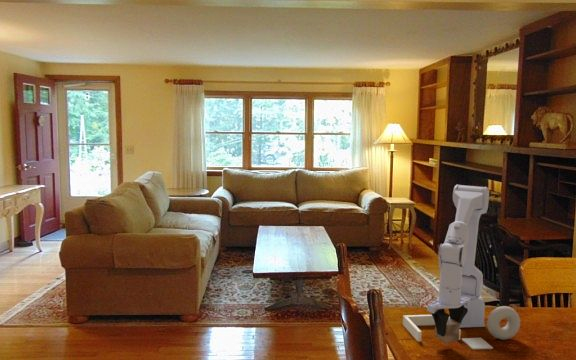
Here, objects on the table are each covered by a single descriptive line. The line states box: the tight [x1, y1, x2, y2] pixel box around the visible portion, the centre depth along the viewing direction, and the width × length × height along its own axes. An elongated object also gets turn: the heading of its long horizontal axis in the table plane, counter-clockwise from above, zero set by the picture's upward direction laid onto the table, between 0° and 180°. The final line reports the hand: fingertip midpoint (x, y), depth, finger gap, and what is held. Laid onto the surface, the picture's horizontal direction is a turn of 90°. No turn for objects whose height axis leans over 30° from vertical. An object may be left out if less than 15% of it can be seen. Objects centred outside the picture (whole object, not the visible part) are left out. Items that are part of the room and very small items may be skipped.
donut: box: [486, 305, 521, 341], centre depth 132 cm, size 10×3×10 cm, turn 98°
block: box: [434, 318, 461, 344], centre depth 126 cm, size 4×4×5 cm
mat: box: [461, 337, 494, 350], centre depth 129 cm, size 6×6×1 cm
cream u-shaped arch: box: [402, 314, 462, 343], centre depth 136 cm, size 13×12×3 cm
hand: (447, 333), depth 126 cm, fingers closed on block, 4 cm apart
